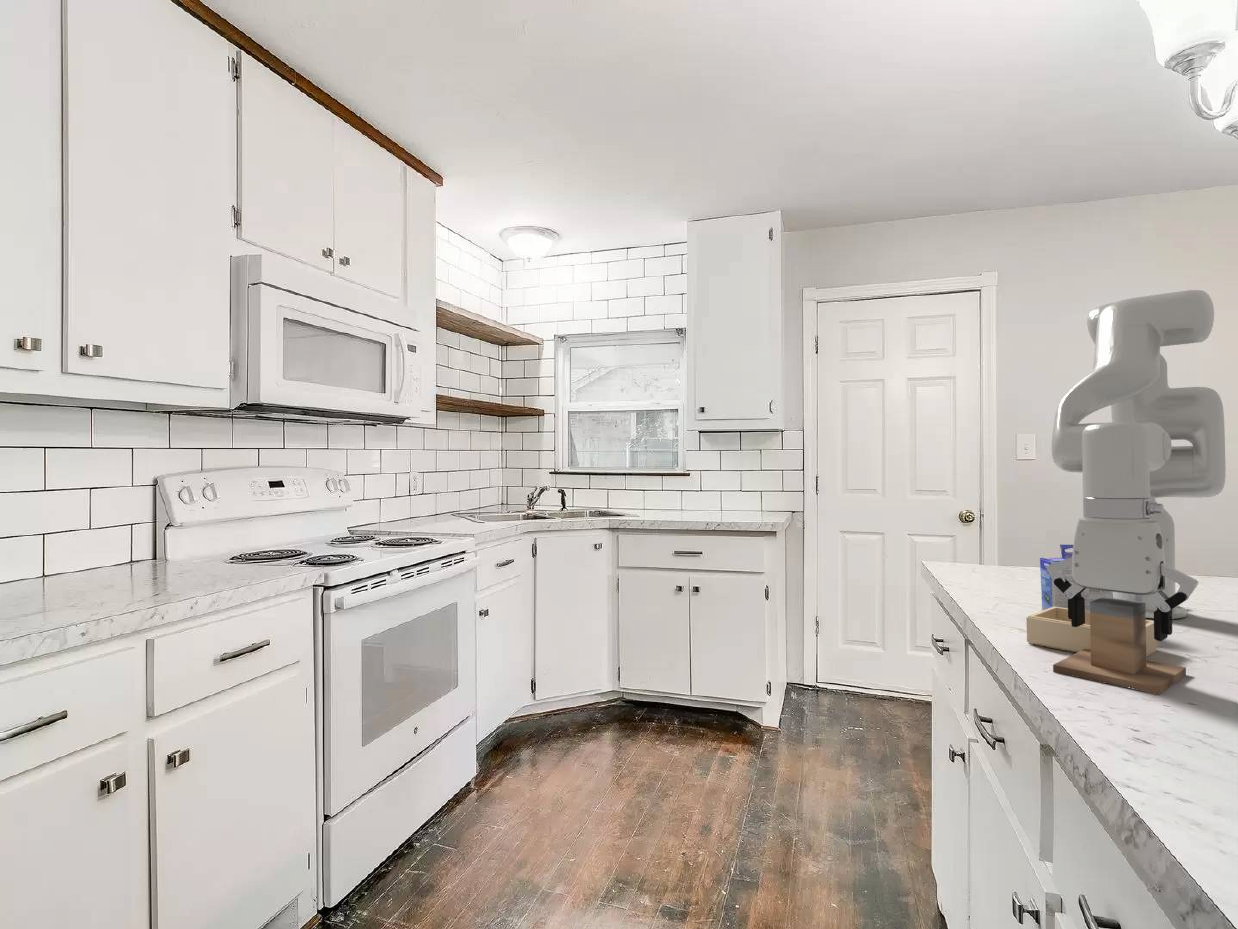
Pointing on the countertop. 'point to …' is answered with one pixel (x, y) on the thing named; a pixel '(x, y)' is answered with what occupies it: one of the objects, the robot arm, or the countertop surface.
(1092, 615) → the block
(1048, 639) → the wooden box
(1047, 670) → the countertop surface
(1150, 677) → the board
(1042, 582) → the ink cartridge box
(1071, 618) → the robot arm
